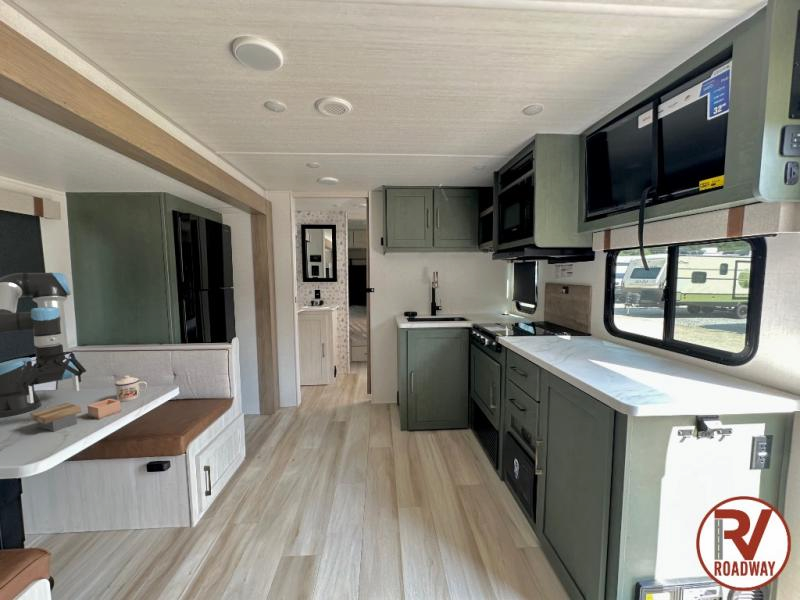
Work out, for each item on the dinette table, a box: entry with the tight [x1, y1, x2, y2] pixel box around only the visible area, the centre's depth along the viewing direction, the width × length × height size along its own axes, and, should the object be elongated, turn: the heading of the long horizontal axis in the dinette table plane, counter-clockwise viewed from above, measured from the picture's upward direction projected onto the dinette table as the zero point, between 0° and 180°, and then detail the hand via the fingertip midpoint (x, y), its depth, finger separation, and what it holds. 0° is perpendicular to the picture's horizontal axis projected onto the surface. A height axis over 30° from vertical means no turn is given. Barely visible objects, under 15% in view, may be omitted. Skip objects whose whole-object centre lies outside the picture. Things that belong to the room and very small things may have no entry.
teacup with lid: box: [114, 374, 148, 403], centre depth 158 cm, size 12×9×12 cm
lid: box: [30, 402, 83, 424], centre depth 130 cm, size 11×11×2 cm
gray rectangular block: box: [37, 414, 78, 432], centre depth 130 cm, size 12×7×4 cm, turn 69°
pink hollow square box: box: [87, 398, 122, 420], centre depth 140 cm, size 8×8×5 cm
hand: (54, 396), depth 129 cm, fingers open, 13 cm apart
